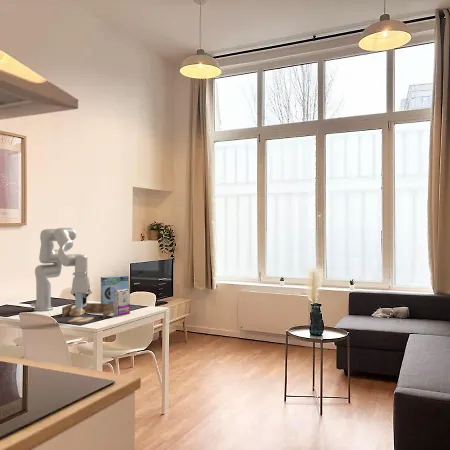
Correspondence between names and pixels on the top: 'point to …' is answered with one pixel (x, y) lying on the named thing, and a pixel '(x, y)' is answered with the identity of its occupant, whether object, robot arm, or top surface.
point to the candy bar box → (121, 302)
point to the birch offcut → (76, 309)
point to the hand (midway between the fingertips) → (81, 303)
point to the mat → (81, 319)
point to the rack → (91, 308)
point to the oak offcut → (77, 313)
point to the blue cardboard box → (112, 287)
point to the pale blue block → (79, 300)
